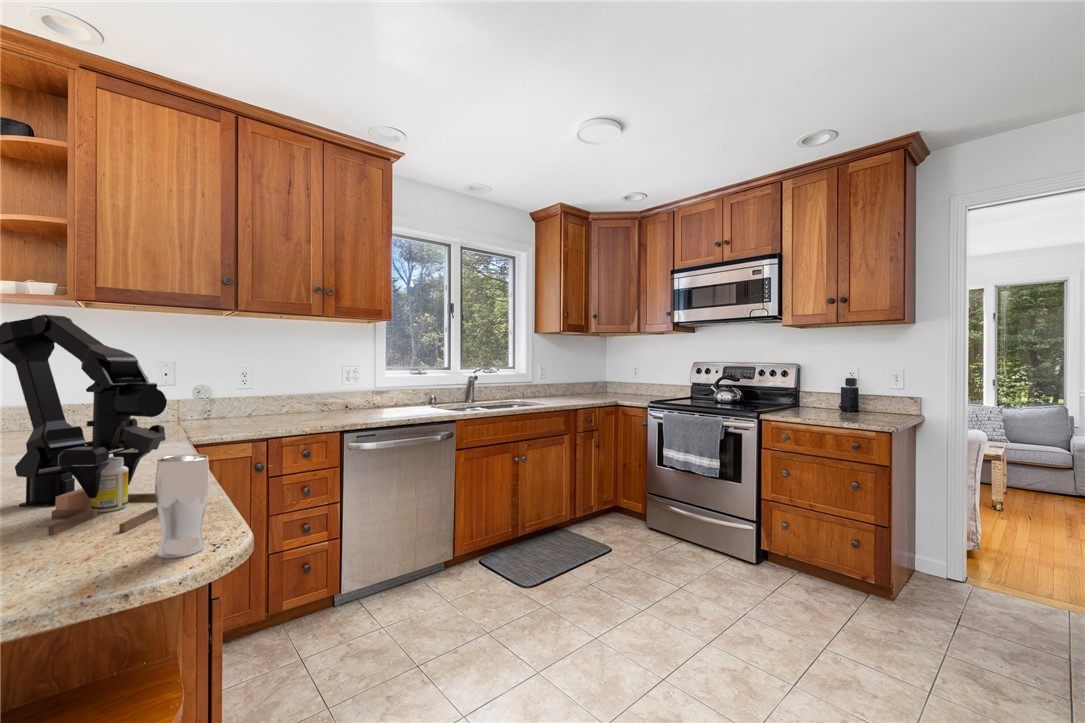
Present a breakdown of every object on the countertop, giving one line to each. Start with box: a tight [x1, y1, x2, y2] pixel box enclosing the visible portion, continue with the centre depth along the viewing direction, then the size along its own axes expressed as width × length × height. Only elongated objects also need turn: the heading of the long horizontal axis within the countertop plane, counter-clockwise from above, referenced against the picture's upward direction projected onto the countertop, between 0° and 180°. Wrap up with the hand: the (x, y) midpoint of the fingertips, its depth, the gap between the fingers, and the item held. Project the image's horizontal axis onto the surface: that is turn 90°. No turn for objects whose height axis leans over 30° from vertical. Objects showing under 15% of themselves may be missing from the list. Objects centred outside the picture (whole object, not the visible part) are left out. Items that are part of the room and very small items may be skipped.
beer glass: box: [154, 453, 210, 560], centre depth 77 cm, size 7×7×15 cm
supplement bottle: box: [90, 456, 129, 513], centre depth 98 cm, size 6×6×10 cm
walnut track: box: [47, 492, 159, 536], centre depth 93 cm, size 18×21×2 cm
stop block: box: [54, 487, 91, 510], centre depth 97 cm, size 2×10×4 cm, turn 10°
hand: (110, 491), depth 98 cm, fingers open, 9 cm apart
